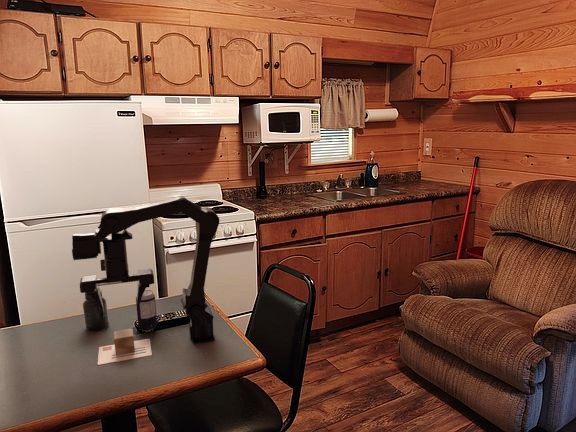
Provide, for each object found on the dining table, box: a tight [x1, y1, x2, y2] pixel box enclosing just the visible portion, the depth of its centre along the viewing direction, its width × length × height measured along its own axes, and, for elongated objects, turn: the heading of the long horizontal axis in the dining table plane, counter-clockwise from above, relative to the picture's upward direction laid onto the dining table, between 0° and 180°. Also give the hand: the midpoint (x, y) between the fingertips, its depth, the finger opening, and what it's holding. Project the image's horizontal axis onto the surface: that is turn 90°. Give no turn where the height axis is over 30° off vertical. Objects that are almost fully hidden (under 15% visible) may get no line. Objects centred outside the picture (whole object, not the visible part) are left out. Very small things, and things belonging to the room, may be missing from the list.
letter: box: [97, 338, 152, 366], centre depth 127 cm, size 14×10×1 cm
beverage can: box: [135, 289, 158, 333], centre depth 139 cm, size 6×6×12 cm
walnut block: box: [113, 328, 135, 355], centre depth 127 cm, size 5×5×5 cm
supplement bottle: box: [82, 289, 110, 332], centre depth 140 cm, size 7×7×12 cm
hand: (120, 309), depth 124 cm, fingers open, 9 cm apart
